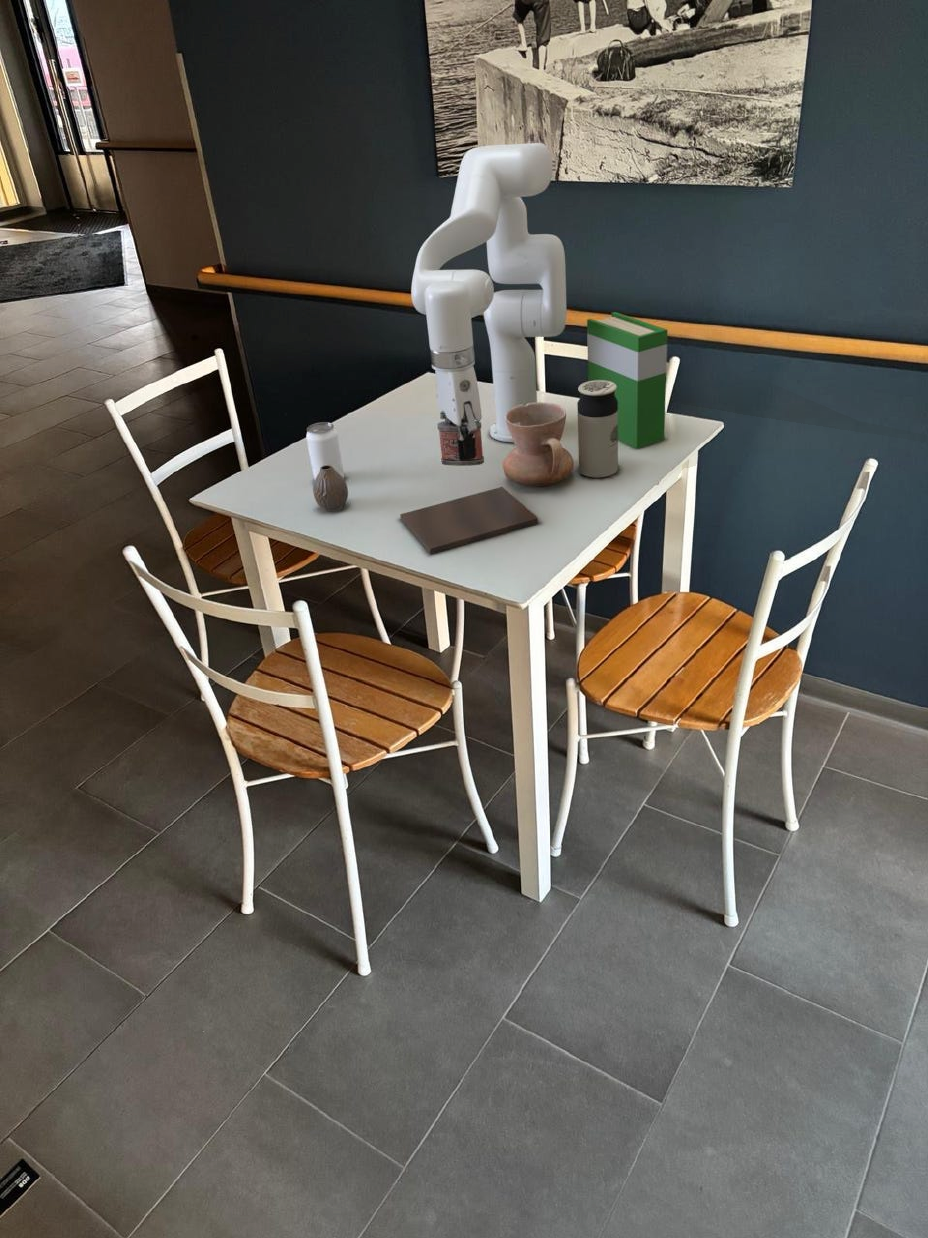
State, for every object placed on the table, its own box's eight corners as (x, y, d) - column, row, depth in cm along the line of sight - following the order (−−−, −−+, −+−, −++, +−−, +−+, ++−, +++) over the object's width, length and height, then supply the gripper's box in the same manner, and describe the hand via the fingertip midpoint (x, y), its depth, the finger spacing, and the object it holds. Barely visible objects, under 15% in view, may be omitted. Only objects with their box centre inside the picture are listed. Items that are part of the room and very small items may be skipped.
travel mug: (571, 473, 195) (568, 389, 185) (594, 459, 200) (593, 376, 190) (602, 482, 190) (602, 396, 180) (625, 467, 195) (625, 383, 185)
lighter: (485, 458, 175) (481, 406, 170) (482, 465, 172) (478, 413, 167) (443, 458, 177) (438, 407, 171) (439, 465, 174) (434, 414, 168)
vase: (336, 517, 188) (328, 476, 183) (309, 510, 191) (301, 471, 186) (357, 502, 192) (350, 462, 188) (330, 496, 196) (323, 457, 191)
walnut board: (502, 491, 191) (502, 486, 190) (538, 523, 178) (538, 517, 177) (400, 519, 184) (400, 514, 184) (430, 554, 172) (429, 548, 171)
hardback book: (588, 424, 215) (587, 319, 202) (615, 416, 218) (615, 311, 205) (636, 448, 202) (638, 337, 189) (664, 439, 205) (667, 329, 192)
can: (315, 475, 205) (305, 423, 199) (345, 471, 206) (336, 419, 199) (314, 488, 200) (303, 435, 193) (344, 484, 200) (335, 431, 194)
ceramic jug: (491, 471, 199) (486, 407, 191) (553, 455, 203) (550, 392, 195) (525, 504, 185) (521, 437, 177) (591, 487, 189) (590, 420, 181)
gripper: (492, 365, 158) (499, 465, 168) (453, 340, 171) (462, 434, 181) (451, 374, 156) (461, 475, 166) (415, 348, 169) (426, 443, 179)
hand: (461, 452), depth 173 cm, fingers closed on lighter, 4 cm apart
